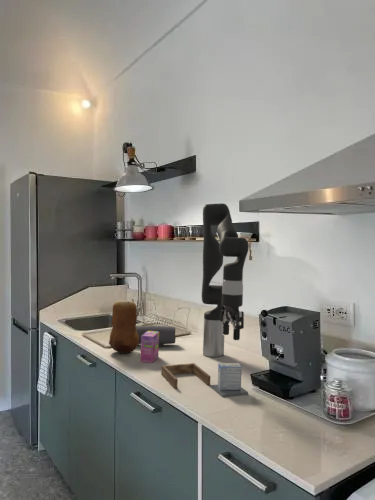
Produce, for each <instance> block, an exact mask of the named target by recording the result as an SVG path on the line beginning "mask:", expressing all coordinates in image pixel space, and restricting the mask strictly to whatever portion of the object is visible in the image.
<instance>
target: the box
mask: <svg viewBox="0 0 375 500" xmlns="http://www.w3.org/2000/svg"><path fill="white" fill-rule="evenodd" d="M159 347H160V346H159V332H157V331H147V332H146V333H144V334H143V335H142V336H141V344H140V354H139V355H140V361H139V362H140V363H150V364H152V363H153V362H154V361H155V360H157V358H159V353H160V352H159Z"/></svg>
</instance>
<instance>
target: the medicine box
mask: <svg viewBox="0 0 375 500" xmlns="http://www.w3.org/2000/svg"><path fill="white" fill-rule="evenodd" d="M242 368H243V366H242V365H241V364H240V363H238V362H236V363H235V362H227V363H226V362H224V363H223V362H221V363H220V362H219V363H218V364H217V385H218V388H219V390H241V387H242V374H243V373H242V371H243V369H242Z"/></svg>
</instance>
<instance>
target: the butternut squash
mask: <svg viewBox="0 0 375 500" xmlns="http://www.w3.org/2000/svg"><path fill="white" fill-rule="evenodd" d="M137 310H138V309H137V305H136V303H135V302H134V301H133V300H124V299H119V300H117V301H115V302H114V303H113V304H112V316H111V317H112V318H111V321H110V322H111V325H112V328H111V331H110V334H109V340H108V344H109V345H110V347H111V348H112V349H113V350H114V351H115V352H118V353H122V354H130V353H131V352H134V351H135V350H136V349H137V348H138V347H139V345H140V344H139V336H138V333H137V330H136V326H137V319H138V312H137Z"/></svg>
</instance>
